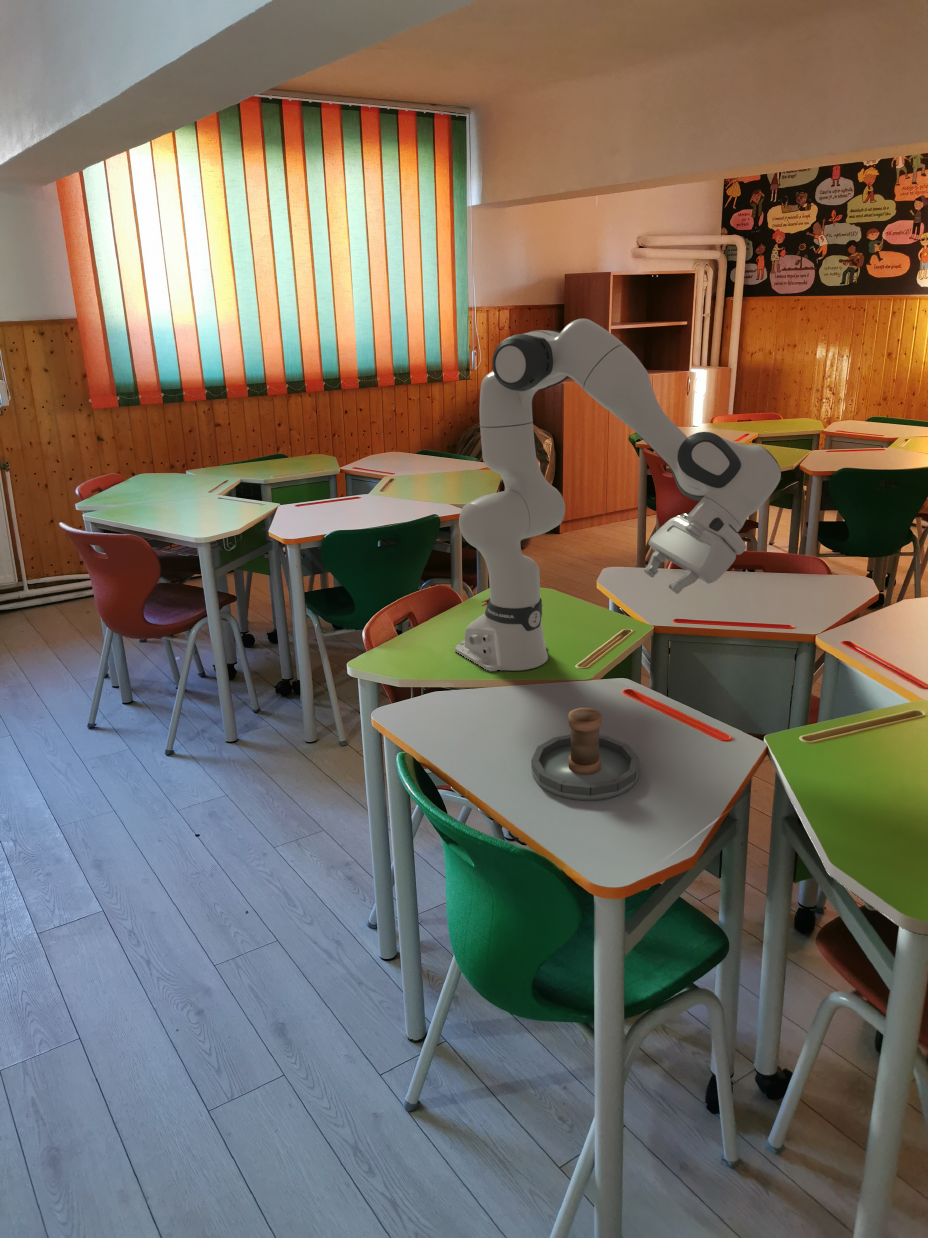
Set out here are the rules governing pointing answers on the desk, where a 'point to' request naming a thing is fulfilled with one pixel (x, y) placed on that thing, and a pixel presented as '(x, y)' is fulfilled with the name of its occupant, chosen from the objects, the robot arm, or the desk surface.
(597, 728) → the brown flared cylinder
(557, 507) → the robot arm
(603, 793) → the round dish
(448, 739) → the desk surface
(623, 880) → the desk surface
